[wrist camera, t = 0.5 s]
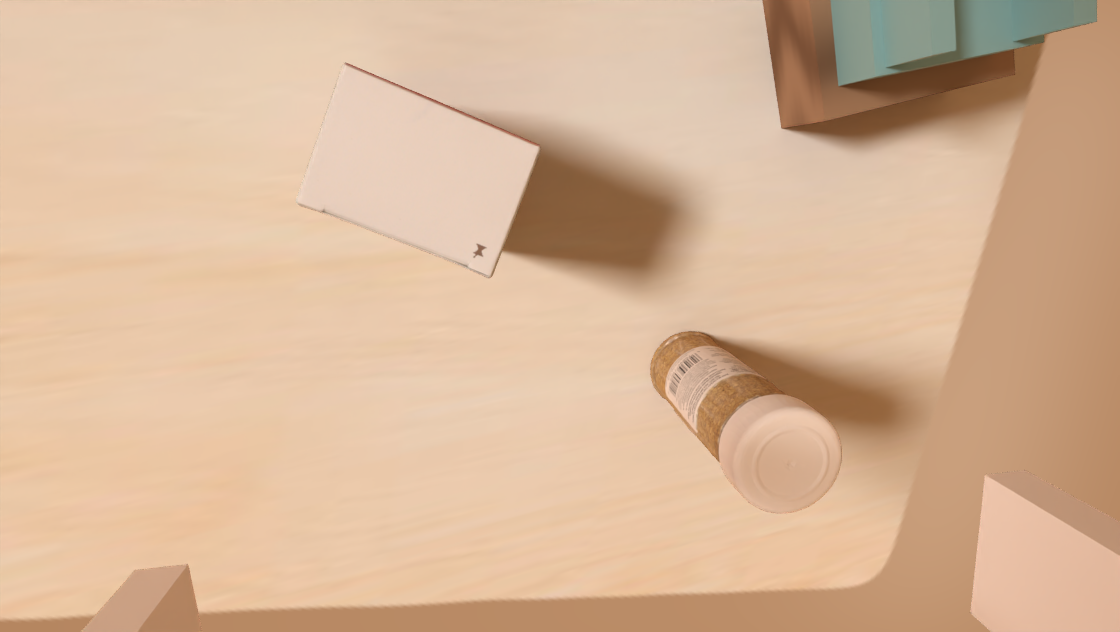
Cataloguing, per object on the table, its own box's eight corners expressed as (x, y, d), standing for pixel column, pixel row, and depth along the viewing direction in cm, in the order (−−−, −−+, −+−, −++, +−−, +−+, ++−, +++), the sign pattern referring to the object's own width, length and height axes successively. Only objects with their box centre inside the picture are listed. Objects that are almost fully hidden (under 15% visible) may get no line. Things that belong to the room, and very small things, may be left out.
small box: (529, 155, 34) (548, 146, 24) (491, 251, 35) (494, 282, 25) (385, 93, 33) (341, 55, 23) (349, 195, 34) (291, 203, 24)
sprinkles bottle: (677, 416, 39) (776, 539, 26) (632, 361, 37) (712, 460, 24) (737, 369, 38) (867, 468, 25) (693, 312, 37) (806, 386, 24)
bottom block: (756, -24, 34) (801, -57, 29) (931, -64, 35) (1004, -103, 30) (779, 128, 36) (825, 121, 31) (944, 87, 36) (1015, 74, 32)
